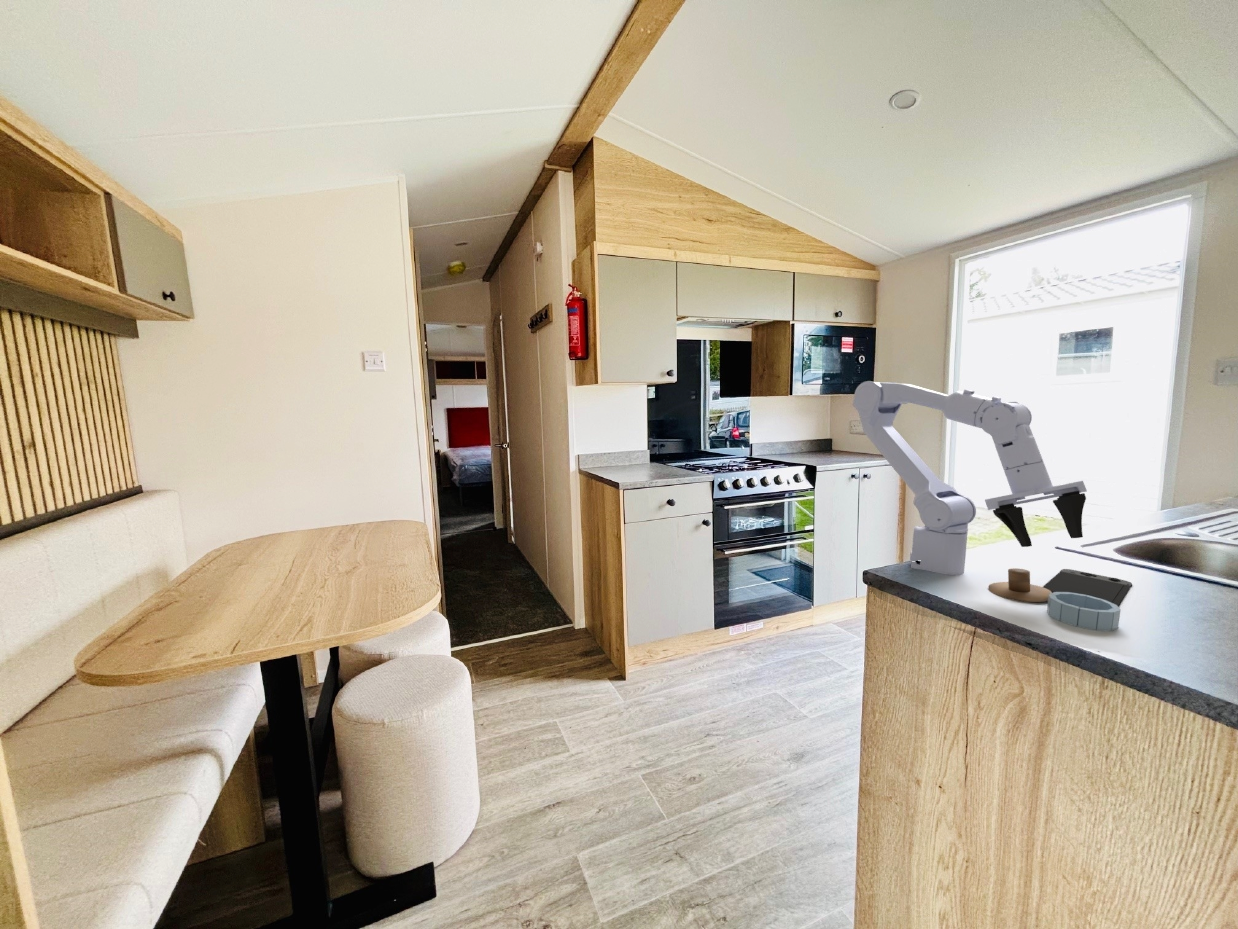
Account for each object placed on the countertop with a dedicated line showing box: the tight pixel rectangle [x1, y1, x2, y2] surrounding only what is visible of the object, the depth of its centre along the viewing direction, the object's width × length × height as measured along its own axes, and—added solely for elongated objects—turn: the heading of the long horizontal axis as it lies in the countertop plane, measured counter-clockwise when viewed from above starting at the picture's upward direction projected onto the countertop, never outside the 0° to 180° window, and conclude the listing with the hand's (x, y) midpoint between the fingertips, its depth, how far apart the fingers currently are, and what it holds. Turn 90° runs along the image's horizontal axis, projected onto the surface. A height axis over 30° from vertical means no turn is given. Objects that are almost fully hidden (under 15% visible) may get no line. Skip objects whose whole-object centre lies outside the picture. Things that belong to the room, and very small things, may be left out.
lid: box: [988, 567, 1052, 603], centre depth 88 cm, size 9×9×4 cm
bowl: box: [1046, 592, 1121, 632], centre depth 78 cm, size 8×8×4 cm
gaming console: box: [1042, 568, 1133, 608], centre depth 90 cm, size 24×1×10 cm
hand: (1051, 542), depth 86 cm, fingers open, 7 cm apart
